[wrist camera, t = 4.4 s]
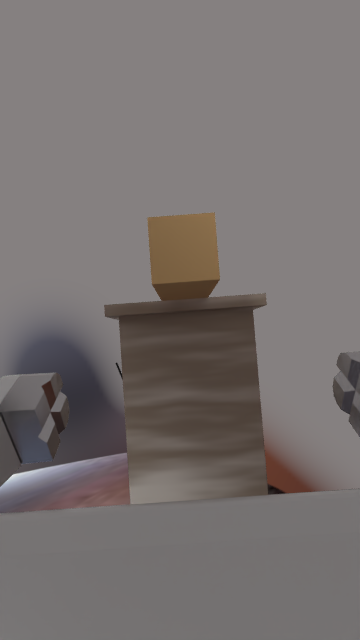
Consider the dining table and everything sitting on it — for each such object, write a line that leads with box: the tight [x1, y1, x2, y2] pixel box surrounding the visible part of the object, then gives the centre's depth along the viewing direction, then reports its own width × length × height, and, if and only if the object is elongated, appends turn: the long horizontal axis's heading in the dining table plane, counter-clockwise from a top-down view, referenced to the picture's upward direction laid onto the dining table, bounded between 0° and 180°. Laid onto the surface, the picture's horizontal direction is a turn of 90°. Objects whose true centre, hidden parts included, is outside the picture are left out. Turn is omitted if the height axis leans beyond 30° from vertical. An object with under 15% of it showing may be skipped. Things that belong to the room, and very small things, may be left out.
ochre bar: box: [148, 213, 220, 301], centre depth 30 cm, size 22×4×4 cm, turn 0°
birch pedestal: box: [104, 293, 268, 504], centre depth 35 cm, size 16×14×26 cm
